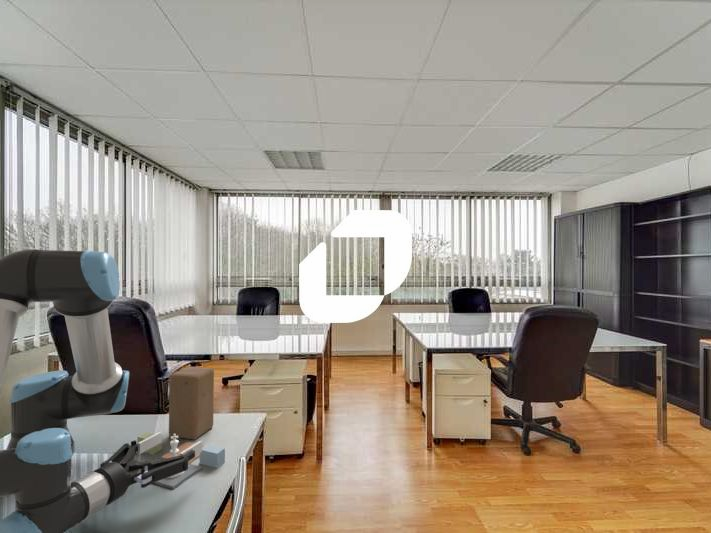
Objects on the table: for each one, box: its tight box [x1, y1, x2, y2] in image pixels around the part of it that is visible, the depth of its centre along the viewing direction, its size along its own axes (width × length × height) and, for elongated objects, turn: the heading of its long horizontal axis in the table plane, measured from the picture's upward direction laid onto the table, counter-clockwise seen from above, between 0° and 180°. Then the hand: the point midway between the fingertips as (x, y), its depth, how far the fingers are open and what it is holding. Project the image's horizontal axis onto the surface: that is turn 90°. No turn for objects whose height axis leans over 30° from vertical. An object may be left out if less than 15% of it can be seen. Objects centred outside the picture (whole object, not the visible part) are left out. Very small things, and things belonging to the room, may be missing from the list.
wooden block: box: [168, 366, 215, 440], centre depth 116 cm, size 10×10×20 cm
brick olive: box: [136, 431, 163, 455], centre depth 104 cm, size 6×3×4 cm, turn 70°
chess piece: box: [167, 434, 184, 478], centre depth 92 cm, size 5×5×10 cm
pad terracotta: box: [161, 441, 205, 464], centre depth 102 cm, size 9×9×1 cm
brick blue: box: [199, 444, 226, 469], centre depth 98 cm, size 6×3×4 cm, turn 70°
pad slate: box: [153, 463, 202, 490], centre depth 92 cm, size 9×9×1 cm
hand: (180, 441), depth 94 cm, fingers open, 13 cm apart
